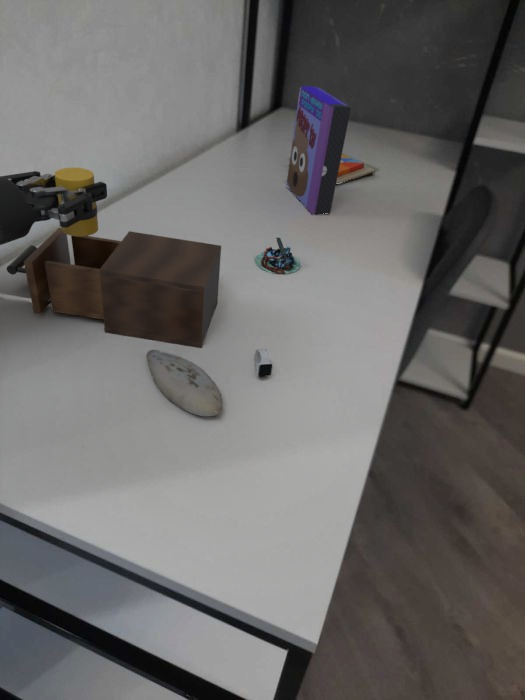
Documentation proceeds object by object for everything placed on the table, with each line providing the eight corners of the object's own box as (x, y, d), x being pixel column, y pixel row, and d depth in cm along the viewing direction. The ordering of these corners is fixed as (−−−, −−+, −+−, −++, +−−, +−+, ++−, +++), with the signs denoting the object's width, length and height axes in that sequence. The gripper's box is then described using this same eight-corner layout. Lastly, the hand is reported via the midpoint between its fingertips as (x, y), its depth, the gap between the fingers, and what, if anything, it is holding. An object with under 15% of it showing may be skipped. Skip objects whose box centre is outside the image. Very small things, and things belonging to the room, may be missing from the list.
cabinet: (105, 332, 78) (99, 269, 72) (132, 289, 89) (129, 231, 82) (201, 348, 78) (204, 286, 71) (217, 303, 88) (221, 245, 82)
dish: (310, 258, 99) (281, 233, 97) (288, 288, 99) (258, 263, 97) (296, 257, 107) (268, 234, 104) (275, 285, 107) (247, 262, 104)
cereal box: (286, 186, 135) (300, 85, 120) (303, 186, 137) (319, 86, 122) (311, 214, 122) (330, 105, 108) (329, 214, 124) (351, 106, 109)
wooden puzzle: (287, 165, 148) (289, 153, 146) (331, 157, 159) (333, 145, 157) (333, 186, 139) (335, 173, 137) (376, 175, 150) (379, 163, 148)
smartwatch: (251, 365, 76) (254, 343, 74) (265, 364, 77) (268, 342, 74) (256, 381, 73) (259, 360, 71) (271, 380, 74) (275, 359, 72)
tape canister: (55, 233, 73) (47, 177, 68) (70, 219, 77) (63, 165, 72) (90, 239, 73) (85, 183, 68) (103, 224, 77) (99, 170, 72)
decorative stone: (166, 353, 76) (166, 334, 74) (237, 411, 68) (240, 392, 66) (130, 369, 73) (129, 350, 70) (201, 433, 65) (203, 413, 63)
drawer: (5, 308, 79) (-7, 256, 73) (40, 272, 88) (32, 223, 83) (121, 327, 78) (117, 276, 73) (144, 288, 87) (142, 240, 82)
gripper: (10, 205, 56) (126, 171, 68) (-67, 168, 62) (53, 142, 74) (22, 266, 61) (129, 224, 72) (-51, 227, 66) (60, 194, 78)
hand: (90, 183), depth 73 cm, fingers closed on tape canister, 5 cm apart
